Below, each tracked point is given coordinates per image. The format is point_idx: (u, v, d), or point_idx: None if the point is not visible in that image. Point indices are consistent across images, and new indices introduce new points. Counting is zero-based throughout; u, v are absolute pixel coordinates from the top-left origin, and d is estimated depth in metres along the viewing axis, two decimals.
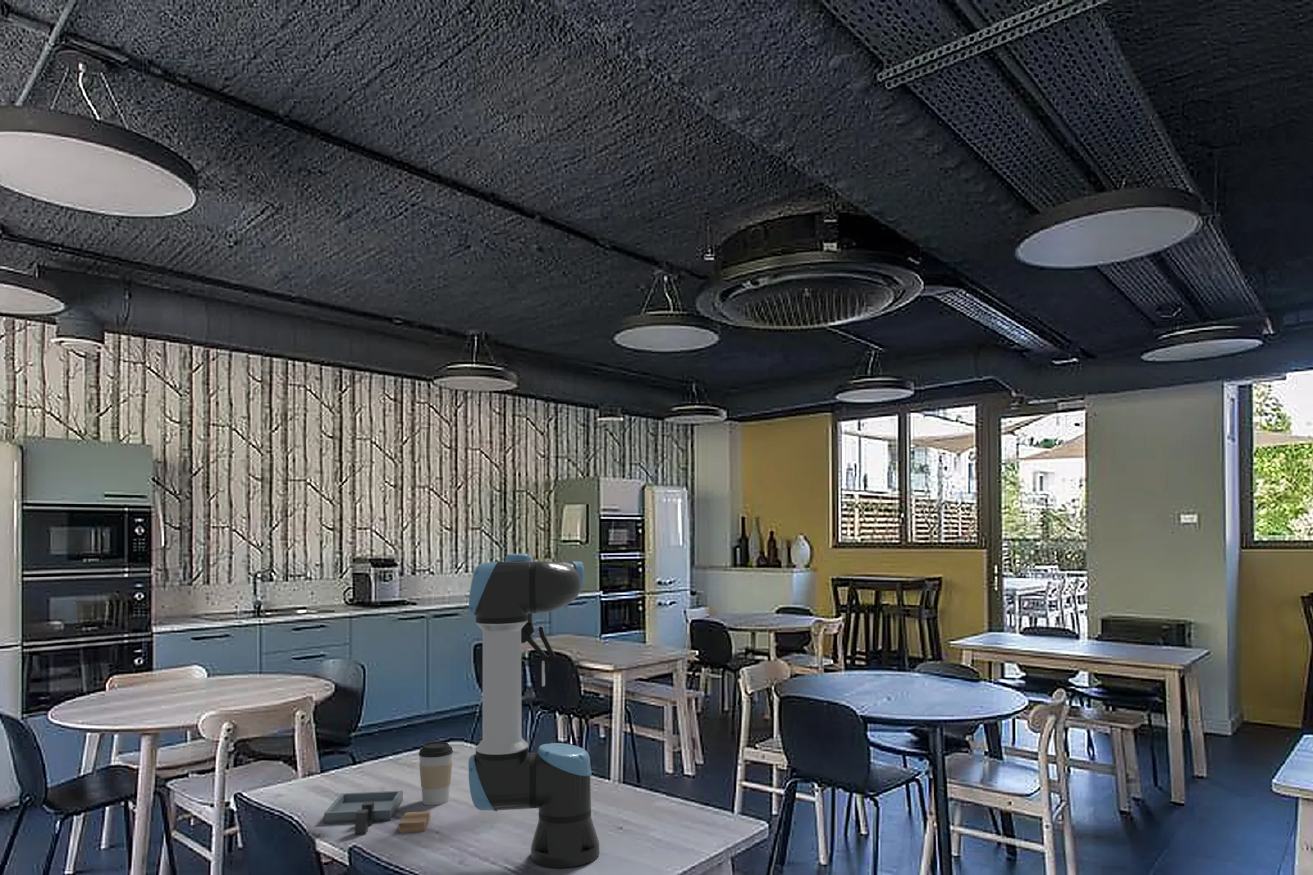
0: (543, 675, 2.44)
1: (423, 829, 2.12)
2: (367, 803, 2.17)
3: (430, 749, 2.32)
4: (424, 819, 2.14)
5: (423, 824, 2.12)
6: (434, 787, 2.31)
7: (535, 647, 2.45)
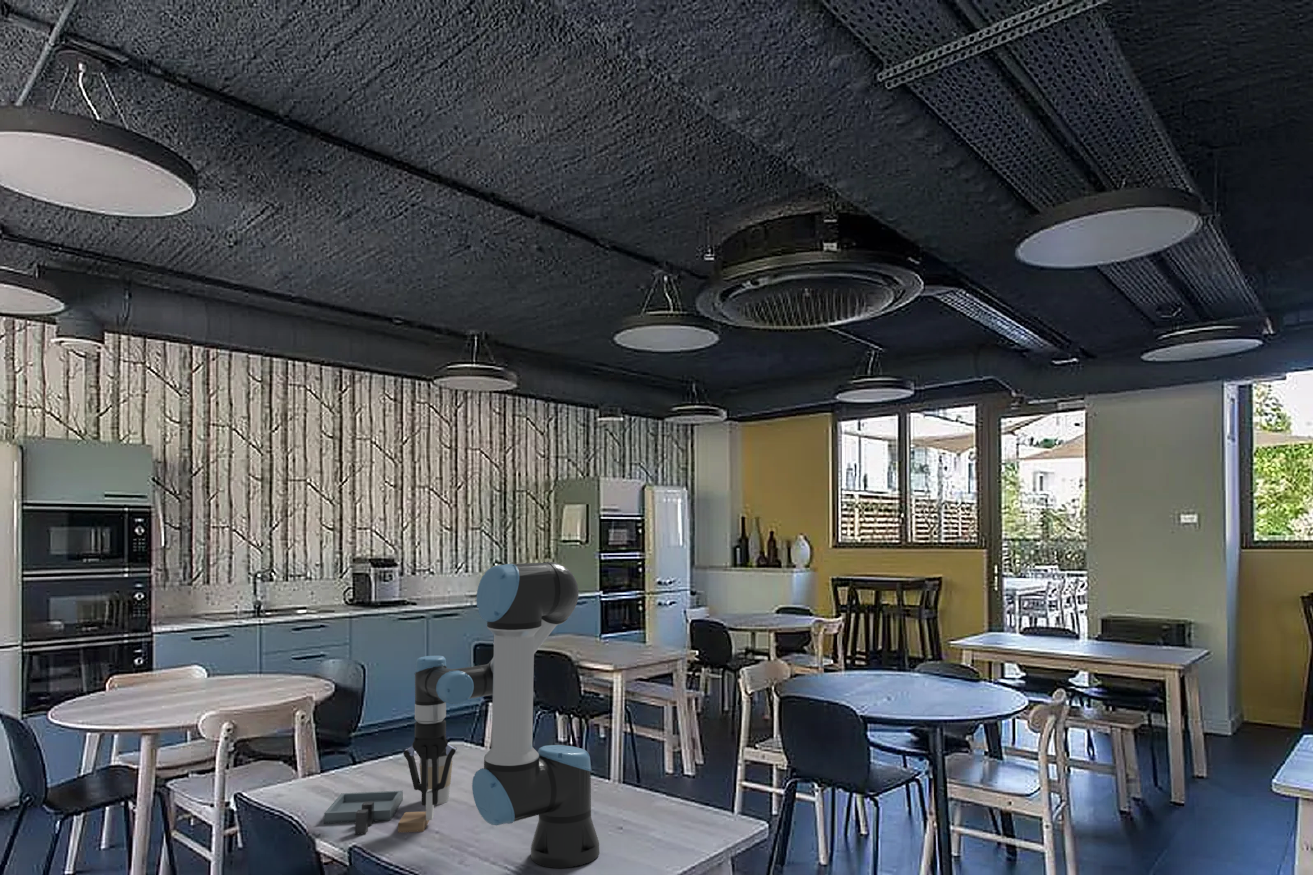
0: (430, 807, 2.15)
1: (422, 829, 2.11)
2: (367, 803, 2.17)
3: None
4: (423, 819, 2.14)
5: (422, 824, 2.12)
6: None
7: (434, 770, 2.16)
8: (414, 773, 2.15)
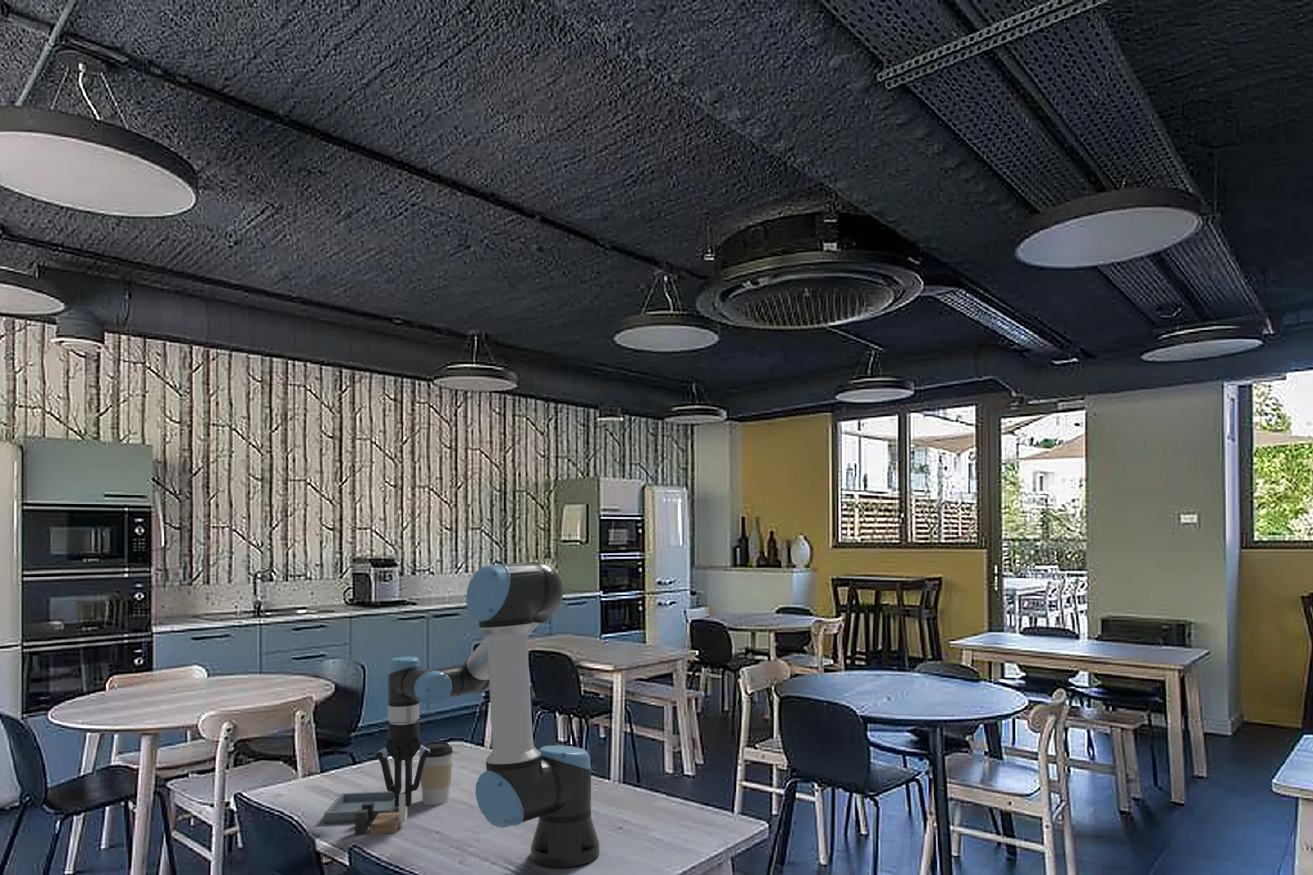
0: (403, 809, 2.14)
1: (395, 830, 2.11)
2: (367, 803, 2.17)
3: (430, 749, 2.32)
4: (396, 820, 2.13)
5: (395, 825, 2.11)
6: (434, 787, 2.31)
7: (407, 771, 2.15)
8: (387, 774, 2.15)
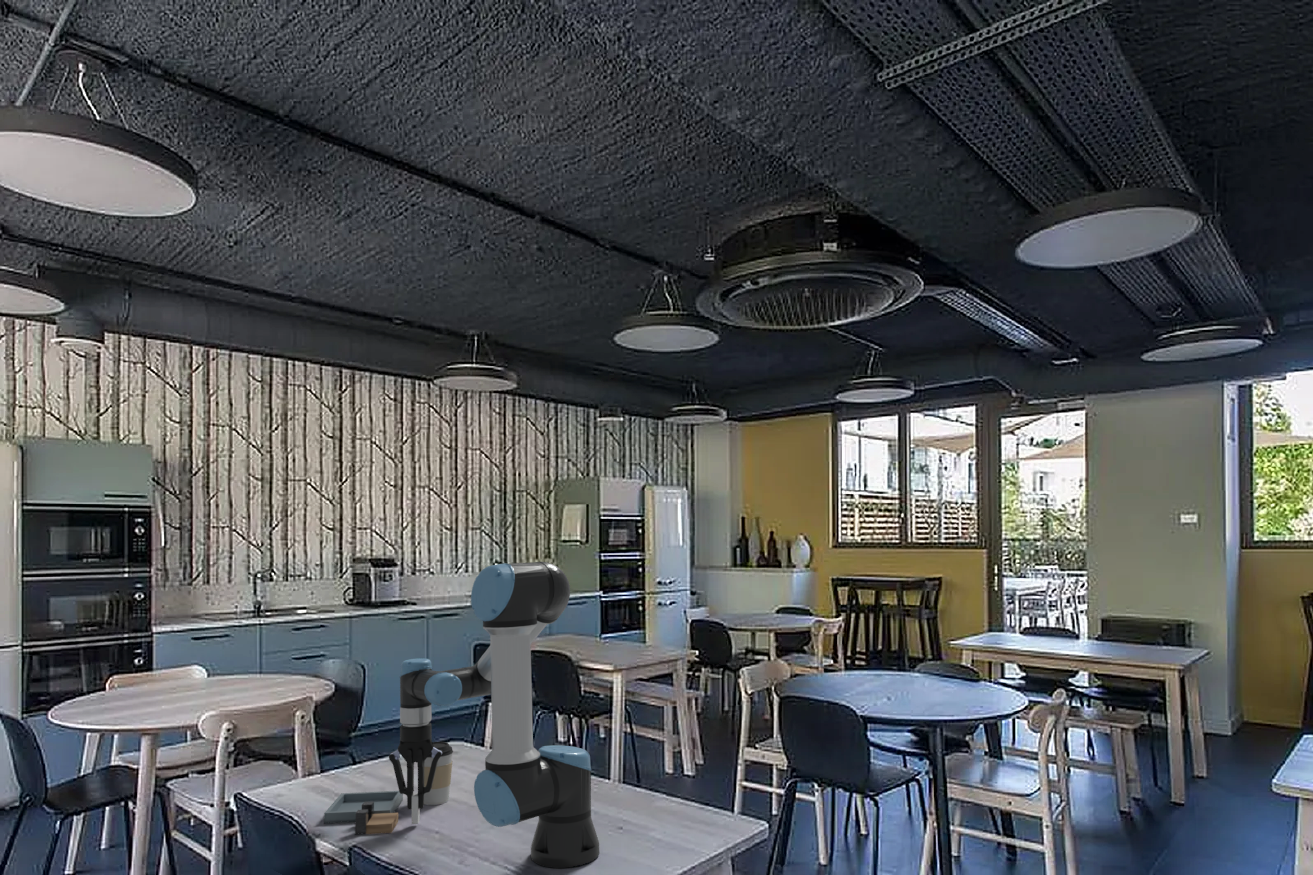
0: (416, 811, 2.14)
1: (390, 831, 2.11)
2: (367, 803, 2.17)
3: None
4: (391, 821, 2.13)
5: (390, 826, 2.11)
6: (434, 787, 2.31)
7: (420, 773, 2.15)
8: (400, 777, 2.14)
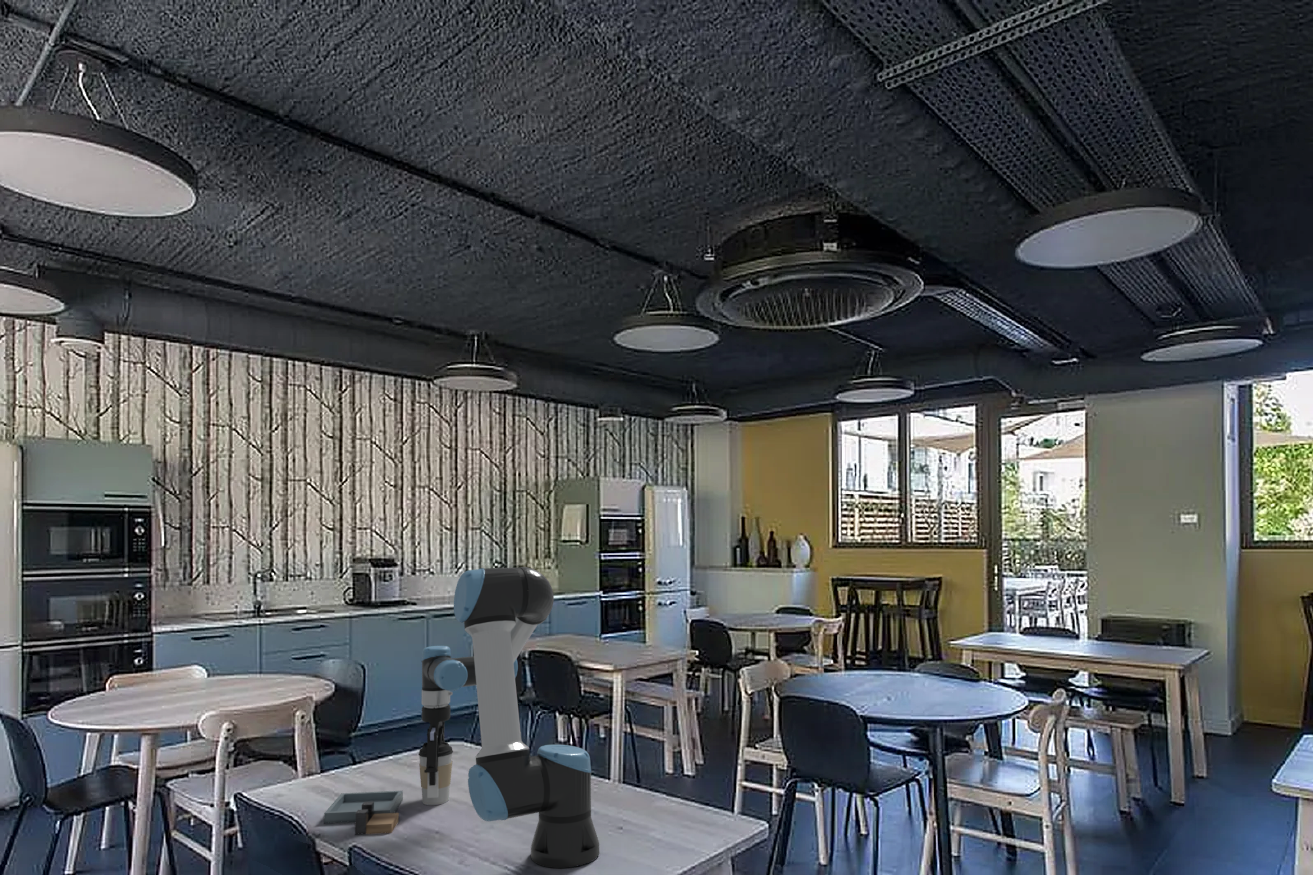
0: None
1: (390, 831, 2.11)
2: (367, 803, 2.17)
3: None
4: (391, 821, 2.13)
5: (390, 826, 2.11)
6: None
7: None
8: None
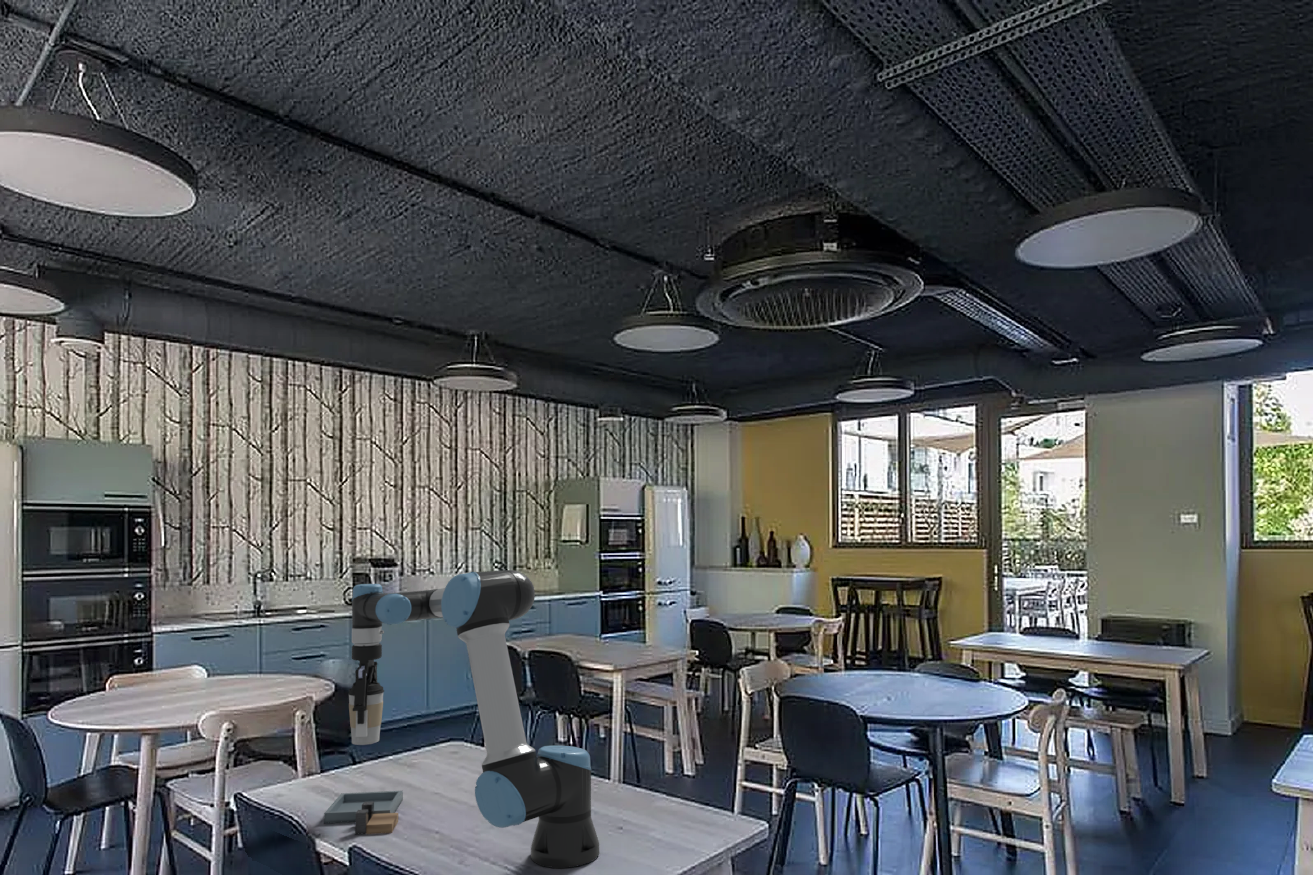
0: None
1: (390, 831, 2.11)
2: (367, 803, 2.17)
3: None
4: (392, 821, 2.13)
5: (390, 826, 2.11)
6: None
7: None
8: None
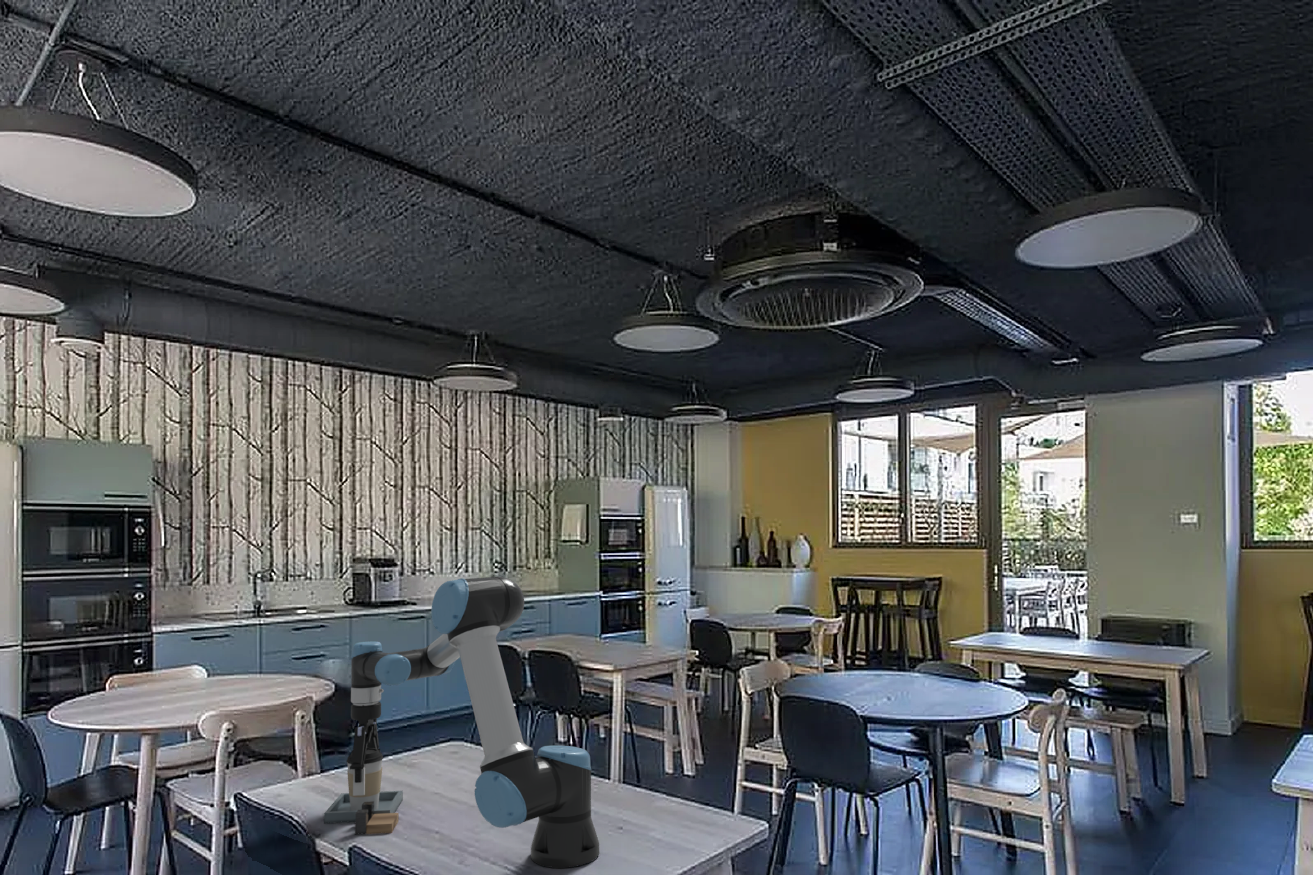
0: None
1: (390, 831, 2.11)
2: (367, 803, 2.17)
3: None
4: (392, 820, 2.13)
5: (390, 825, 2.11)
6: (362, 795, 2.23)
7: None
8: None
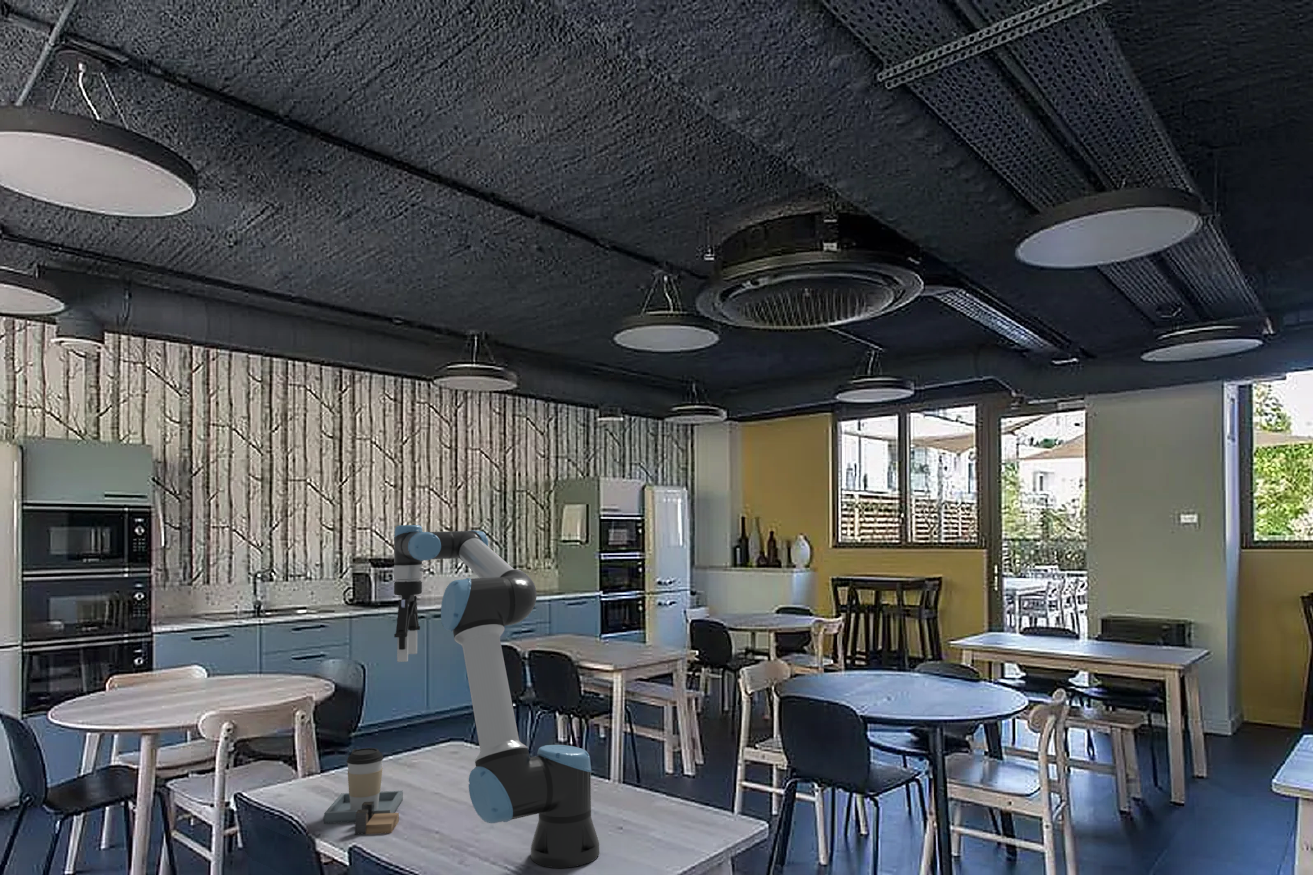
0: None
1: (390, 831, 2.11)
2: (367, 803, 2.17)
3: (358, 756, 2.24)
4: (391, 821, 2.13)
5: (390, 826, 2.11)
6: (362, 795, 2.23)
7: None
8: None
